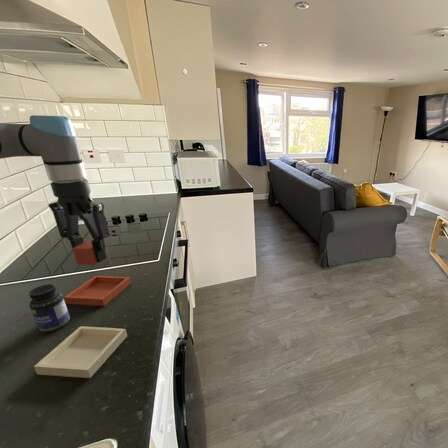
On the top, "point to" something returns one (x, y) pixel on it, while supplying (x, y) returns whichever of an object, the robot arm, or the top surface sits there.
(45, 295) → the pill bottle
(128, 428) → the top surface
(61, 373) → the cream tray
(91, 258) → the block
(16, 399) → the top surface
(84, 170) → the robot arm
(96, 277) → the terracotta tray
